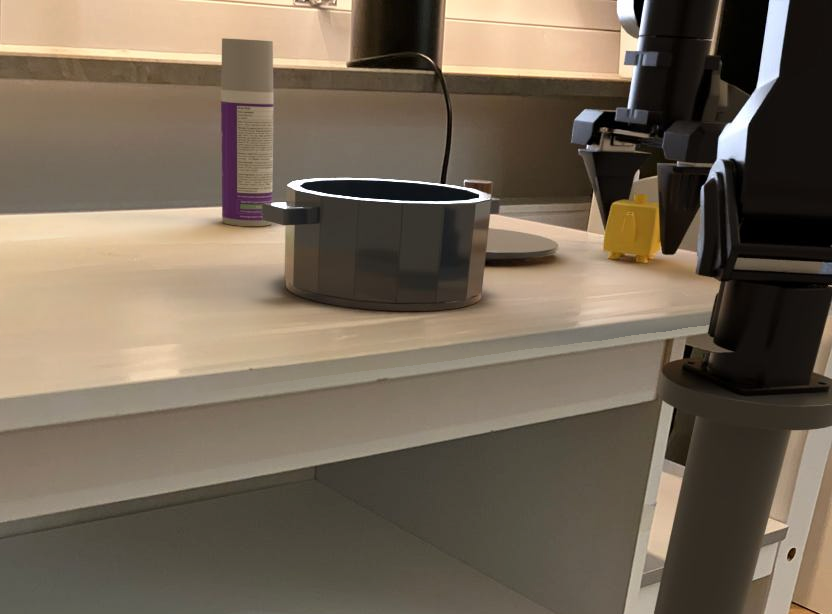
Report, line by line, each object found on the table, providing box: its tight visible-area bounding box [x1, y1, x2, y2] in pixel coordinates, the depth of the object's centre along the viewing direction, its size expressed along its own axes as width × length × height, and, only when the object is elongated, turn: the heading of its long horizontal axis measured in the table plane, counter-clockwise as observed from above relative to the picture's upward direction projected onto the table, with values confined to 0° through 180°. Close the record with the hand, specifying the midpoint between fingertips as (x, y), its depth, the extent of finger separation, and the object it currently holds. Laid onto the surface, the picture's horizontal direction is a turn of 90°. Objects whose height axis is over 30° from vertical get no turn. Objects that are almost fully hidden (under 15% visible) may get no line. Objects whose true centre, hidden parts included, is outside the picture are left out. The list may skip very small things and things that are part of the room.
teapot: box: [602, 193, 661, 264], centre depth 90 cm, size 8×6×5 cm
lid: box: [463, 179, 559, 264], centre depth 89 cm, size 15×15×6 cm
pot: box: [262, 177, 501, 312], centre depth 72 cm, size 14×19×6 cm
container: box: [220, 37, 274, 227], centre depth 95 cm, size 5×5×15 cm
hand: (639, 245), depth 91 cm, fingers open, 9 cm apart
